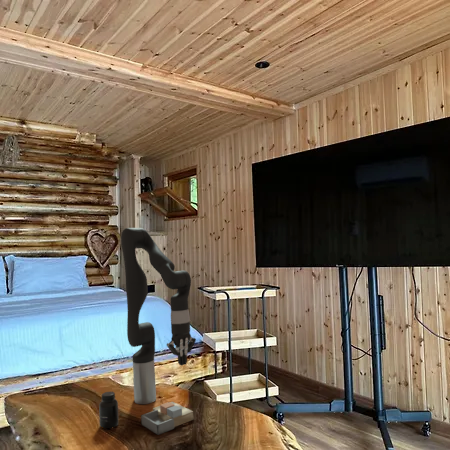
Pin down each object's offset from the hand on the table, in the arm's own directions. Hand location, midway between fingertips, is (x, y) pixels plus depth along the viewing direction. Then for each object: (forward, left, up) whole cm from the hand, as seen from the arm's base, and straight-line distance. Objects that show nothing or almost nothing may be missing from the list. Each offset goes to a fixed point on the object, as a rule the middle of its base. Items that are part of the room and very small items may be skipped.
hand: (182, 364), depth 166 cm
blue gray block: (+5, -8, -16) cm, 19 cm away
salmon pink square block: (0, -8, -16) cm, 18 cm away
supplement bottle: (-12, -26, -19) cm, 35 cm away
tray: (+2, -14, -19) cm, 24 cm away
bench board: (0, -6, -19) cm, 20 cm away
